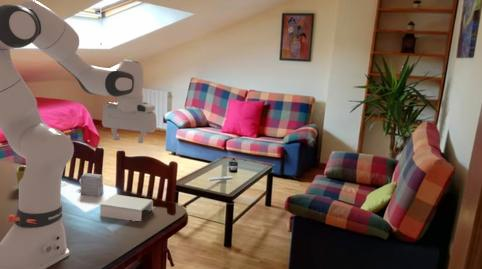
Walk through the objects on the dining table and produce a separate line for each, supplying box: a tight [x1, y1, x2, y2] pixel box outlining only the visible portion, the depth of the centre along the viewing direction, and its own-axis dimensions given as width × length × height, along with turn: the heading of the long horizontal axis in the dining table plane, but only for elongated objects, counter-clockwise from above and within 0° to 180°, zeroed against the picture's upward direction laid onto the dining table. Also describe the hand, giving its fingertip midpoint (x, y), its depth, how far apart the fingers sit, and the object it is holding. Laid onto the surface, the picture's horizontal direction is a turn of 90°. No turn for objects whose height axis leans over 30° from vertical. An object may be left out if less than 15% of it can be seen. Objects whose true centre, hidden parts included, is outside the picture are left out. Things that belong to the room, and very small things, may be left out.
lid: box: [99, 194, 154, 212], centre depth 151 cm, size 12×16×1 cm
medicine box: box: [80, 172, 104, 197], centre depth 168 cm, size 8×4×9 cm, turn 84°
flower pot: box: [16, 165, 26, 185], centre depth 168 cm, size 9×9×9 cm
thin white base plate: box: [99, 200, 154, 222], centre depth 152 cm, size 12×16×4 cm
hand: (128, 141), depth 146 cm, fingers open, 8 cm apart
